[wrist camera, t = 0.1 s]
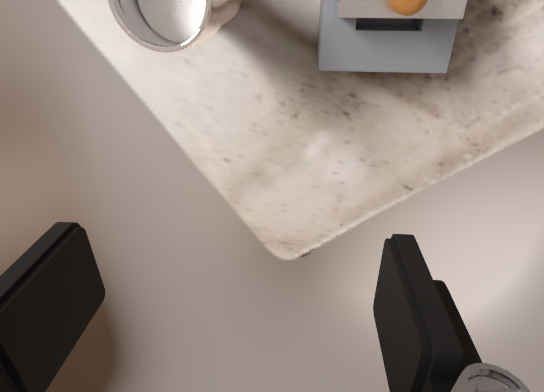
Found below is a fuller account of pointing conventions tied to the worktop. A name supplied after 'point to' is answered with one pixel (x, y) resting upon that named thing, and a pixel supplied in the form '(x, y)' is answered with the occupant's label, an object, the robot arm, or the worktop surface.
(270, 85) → the worktop surface
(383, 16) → the bar
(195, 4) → the beer glass
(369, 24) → the block
